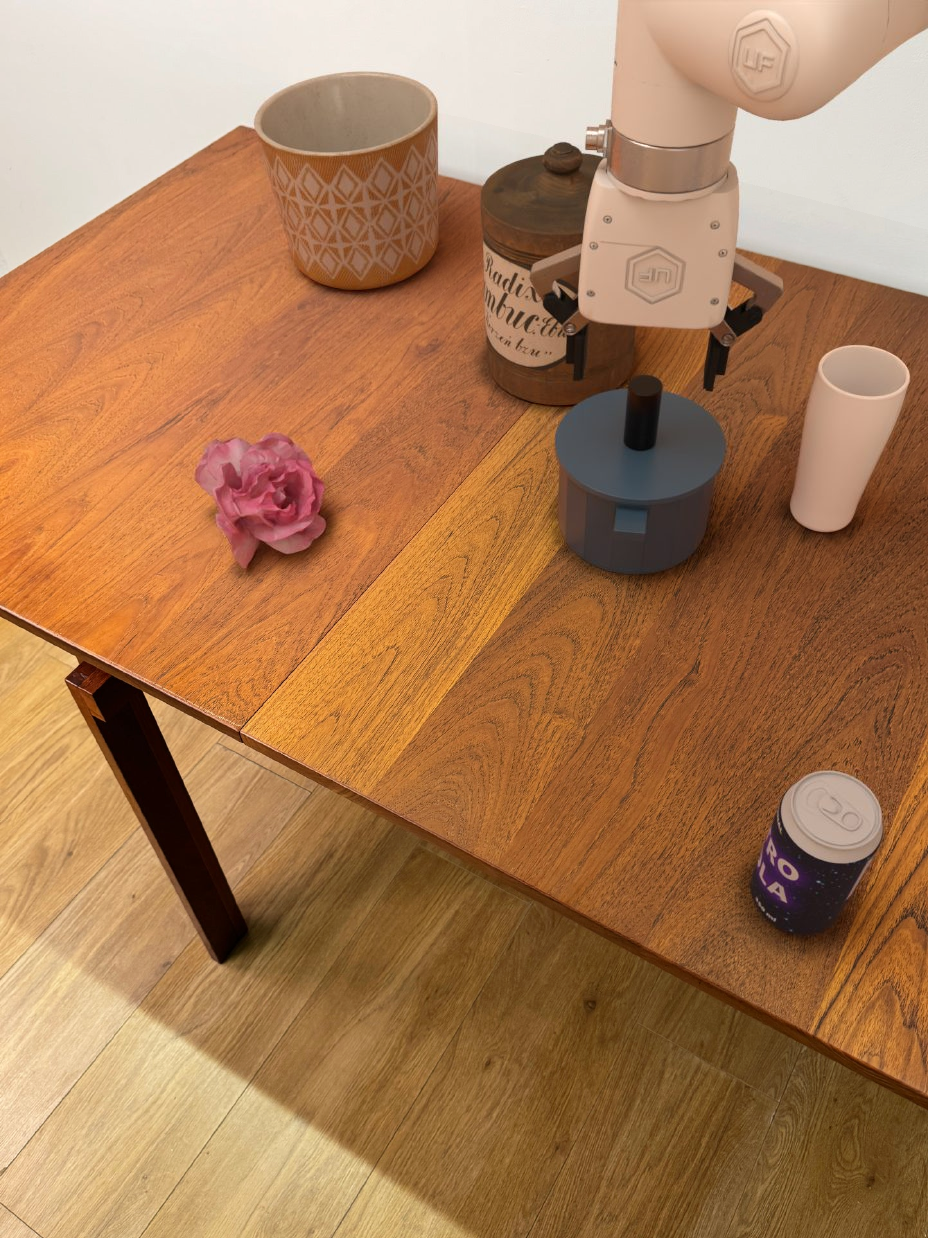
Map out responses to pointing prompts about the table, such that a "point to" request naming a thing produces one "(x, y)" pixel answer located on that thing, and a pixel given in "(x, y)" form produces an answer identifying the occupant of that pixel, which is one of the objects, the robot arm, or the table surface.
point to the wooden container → (514, 314)
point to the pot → (631, 529)
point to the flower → (262, 494)
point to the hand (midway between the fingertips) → (643, 374)
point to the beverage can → (816, 851)
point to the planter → (354, 175)
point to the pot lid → (640, 444)
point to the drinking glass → (845, 432)
